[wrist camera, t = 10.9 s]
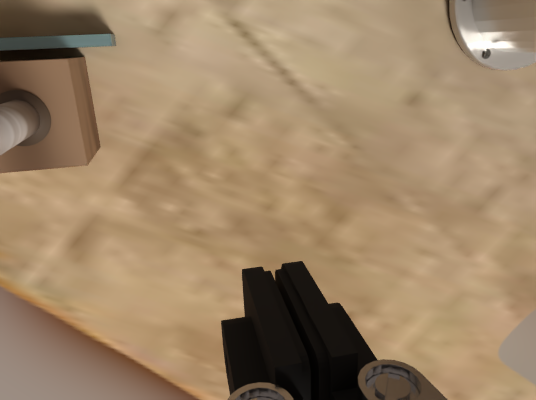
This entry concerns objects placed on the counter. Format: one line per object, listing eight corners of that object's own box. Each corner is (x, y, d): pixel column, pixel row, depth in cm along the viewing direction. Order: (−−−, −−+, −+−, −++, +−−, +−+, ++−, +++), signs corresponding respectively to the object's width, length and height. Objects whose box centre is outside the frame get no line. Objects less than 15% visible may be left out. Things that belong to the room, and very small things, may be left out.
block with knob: (84, 56, 33) (41, 62, 22) (100, 146, 36) (68, 192, 25) (-16, 61, 32) (-114, 69, 21) (7, 154, 34) (-70, 205, 23)
